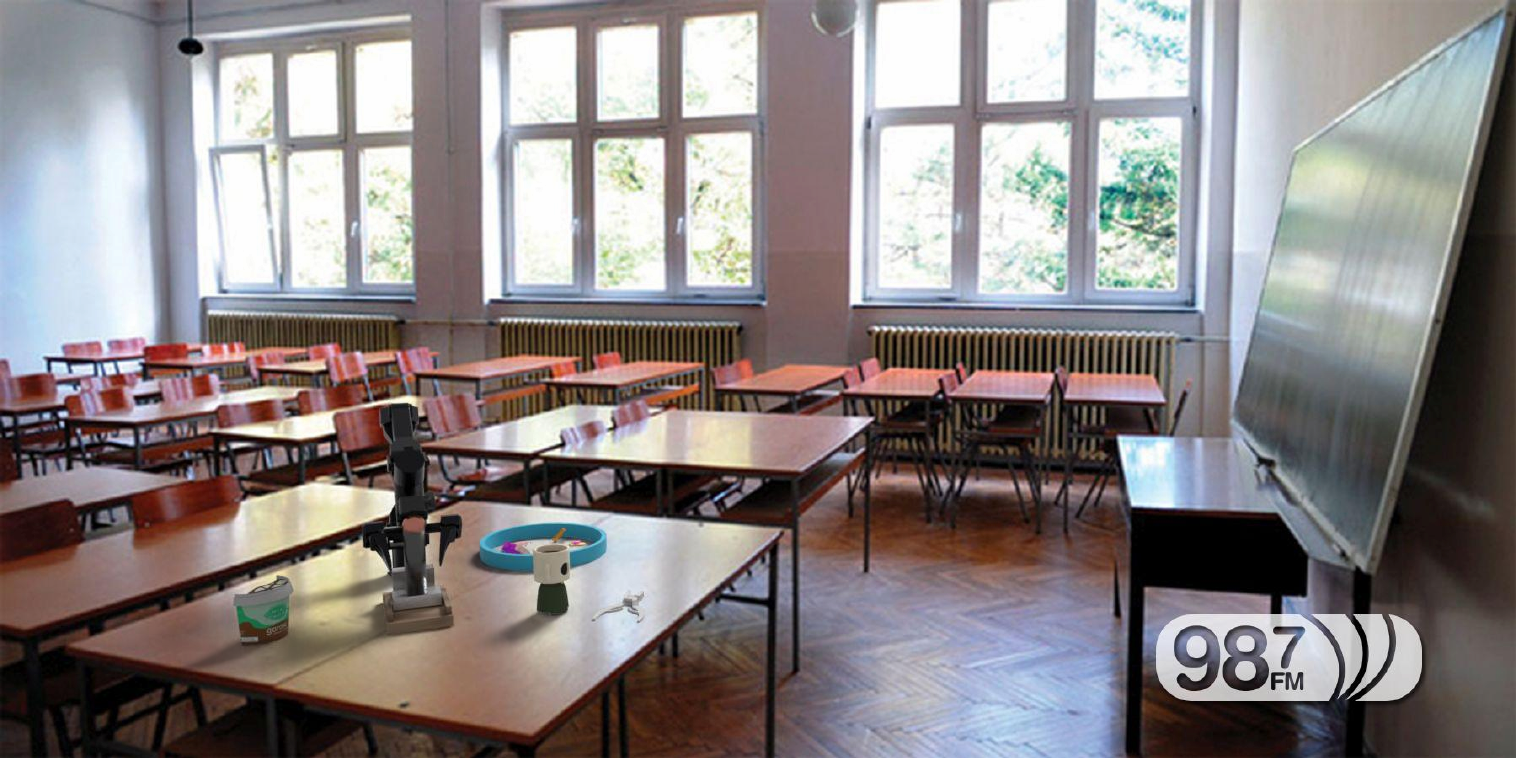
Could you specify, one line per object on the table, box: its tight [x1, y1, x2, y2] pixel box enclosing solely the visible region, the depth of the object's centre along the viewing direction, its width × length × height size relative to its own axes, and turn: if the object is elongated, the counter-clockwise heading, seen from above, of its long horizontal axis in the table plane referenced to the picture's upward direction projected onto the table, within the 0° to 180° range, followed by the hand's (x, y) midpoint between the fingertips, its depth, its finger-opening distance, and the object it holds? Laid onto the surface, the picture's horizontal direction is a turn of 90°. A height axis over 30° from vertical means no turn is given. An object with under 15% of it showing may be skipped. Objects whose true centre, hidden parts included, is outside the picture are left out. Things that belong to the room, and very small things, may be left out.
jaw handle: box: [391, 514, 442, 611], centre depth 193 cm, size 5×9×18 cm, turn 113°
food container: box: [232, 574, 294, 647], centre depth 183 cm, size 12×6×10 cm, turn 168°
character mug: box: [532, 543, 571, 616], centre depth 195 cm, size 11×7×13 cm, turn 2°
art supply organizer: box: [479, 521, 608, 572], centre depth 238 cm, size 30×30×6 cm
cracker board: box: [382, 563, 455, 635], centre depth 195 cm, size 20×12×7 cm, turn 23°
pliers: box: [592, 589, 646, 623], centre depth 198 cm, size 10×2×15 cm
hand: (416, 568), depth 192 cm, fingers open, 9 cm apart
